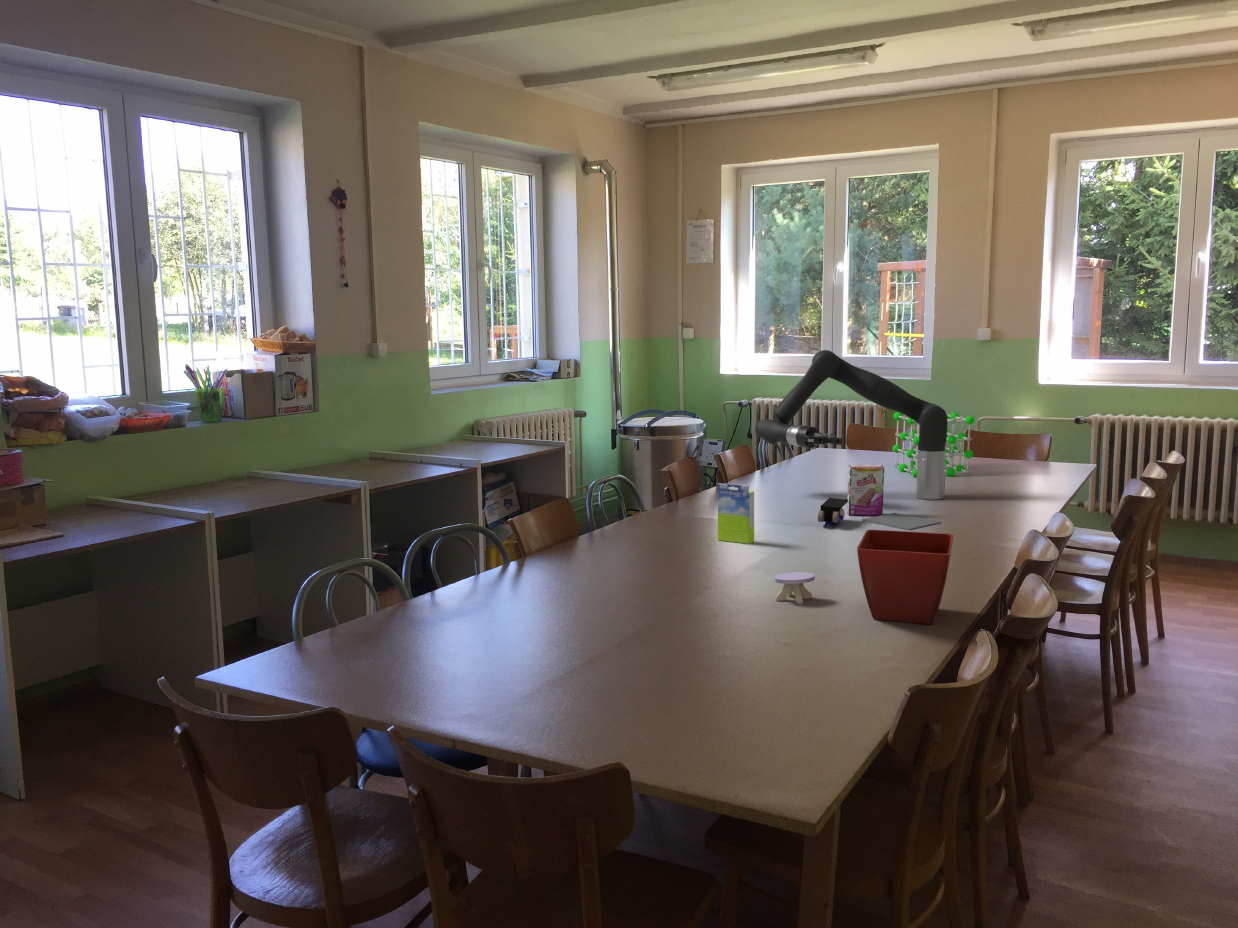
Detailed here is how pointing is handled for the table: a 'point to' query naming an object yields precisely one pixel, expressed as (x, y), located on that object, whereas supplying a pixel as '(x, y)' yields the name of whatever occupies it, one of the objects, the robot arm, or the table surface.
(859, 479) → the candy bar box
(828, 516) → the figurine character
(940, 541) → the plant pot
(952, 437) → the molecular structure model
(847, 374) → the robot arm
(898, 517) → the mat
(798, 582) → the toy table
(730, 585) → the table surface
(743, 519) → the box
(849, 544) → the table surface
